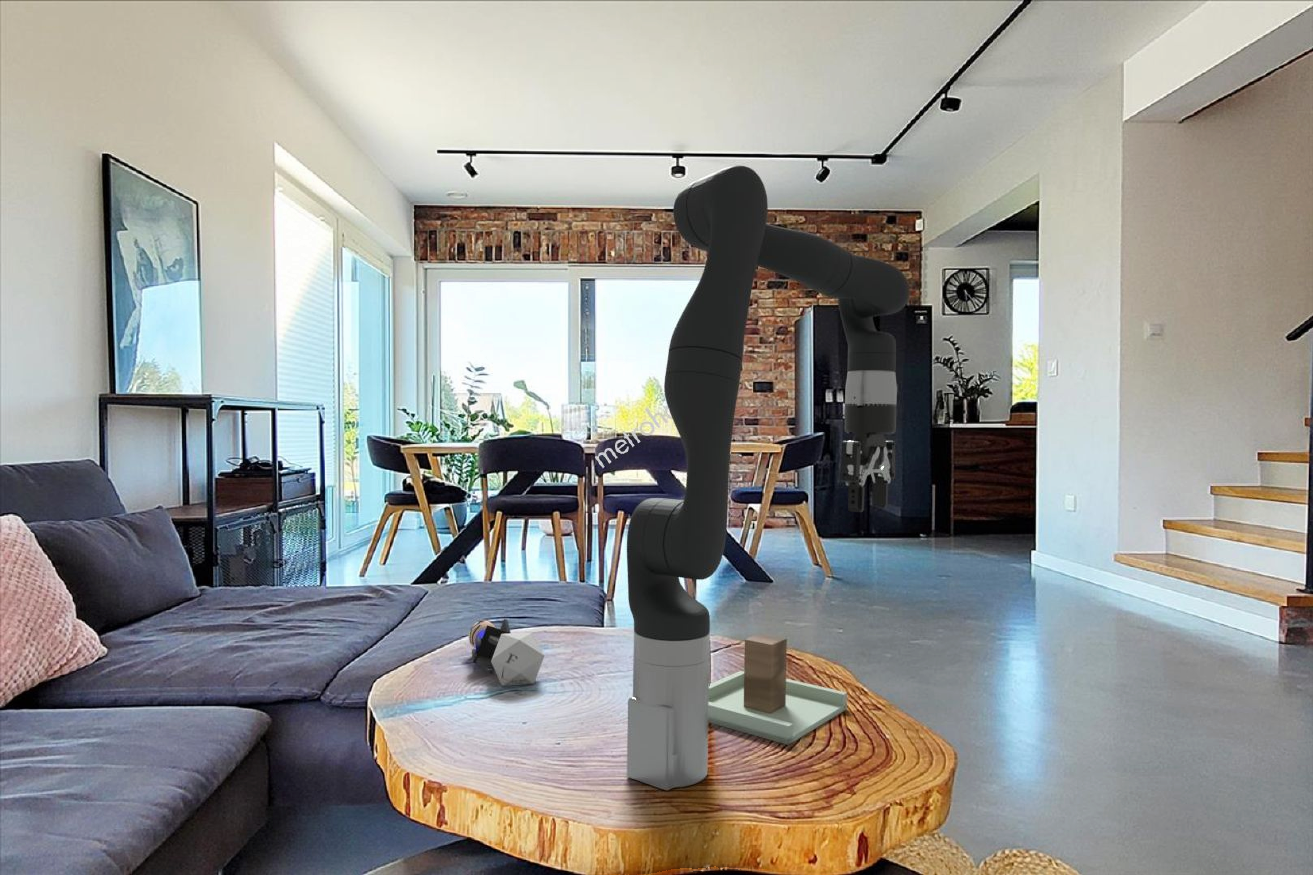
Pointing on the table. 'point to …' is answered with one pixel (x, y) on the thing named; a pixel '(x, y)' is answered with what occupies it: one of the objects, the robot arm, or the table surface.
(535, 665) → the die
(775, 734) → the tray
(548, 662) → the table surface
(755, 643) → the block
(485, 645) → the character figurine
